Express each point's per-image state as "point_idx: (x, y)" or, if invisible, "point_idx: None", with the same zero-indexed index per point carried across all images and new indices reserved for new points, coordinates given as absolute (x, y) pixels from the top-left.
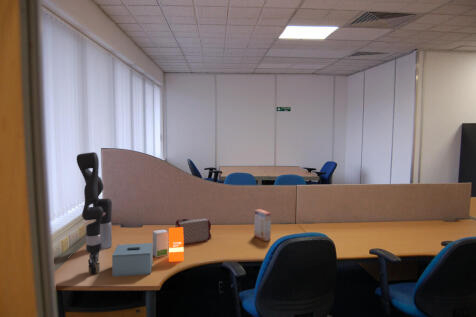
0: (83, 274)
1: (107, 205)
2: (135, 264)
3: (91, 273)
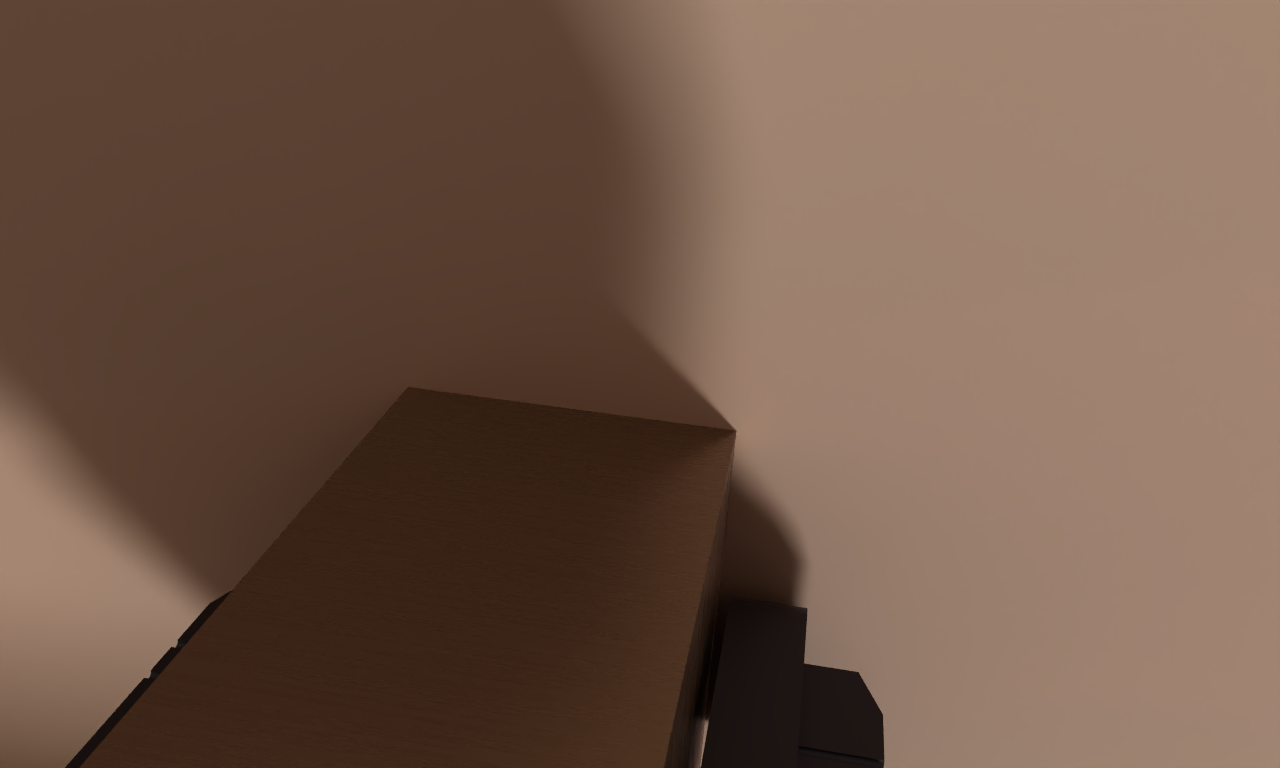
0: (386, 90)
1: None
2: None
3: None
